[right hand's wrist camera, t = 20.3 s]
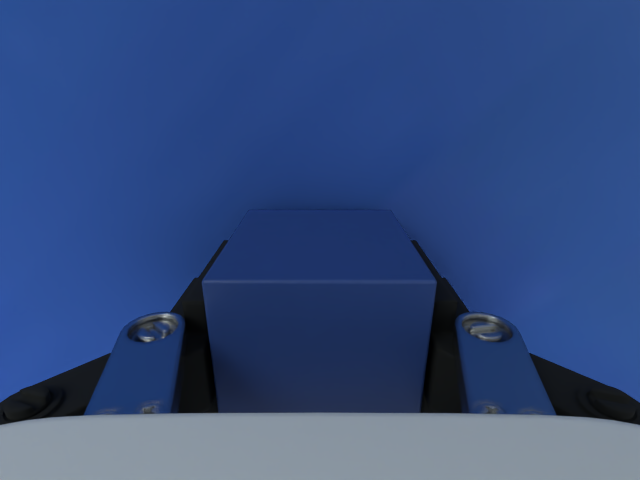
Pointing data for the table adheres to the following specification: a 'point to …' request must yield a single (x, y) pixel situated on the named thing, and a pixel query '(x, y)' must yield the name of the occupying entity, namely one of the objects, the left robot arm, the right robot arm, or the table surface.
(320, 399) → the brick
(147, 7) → the table surface
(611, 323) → the table surface
